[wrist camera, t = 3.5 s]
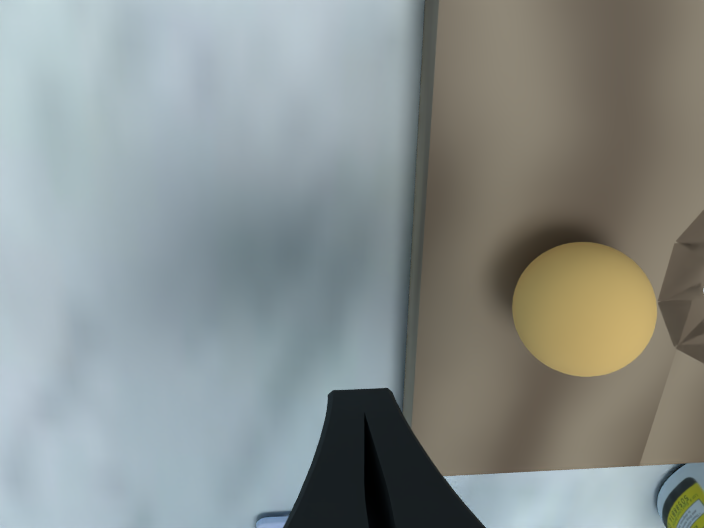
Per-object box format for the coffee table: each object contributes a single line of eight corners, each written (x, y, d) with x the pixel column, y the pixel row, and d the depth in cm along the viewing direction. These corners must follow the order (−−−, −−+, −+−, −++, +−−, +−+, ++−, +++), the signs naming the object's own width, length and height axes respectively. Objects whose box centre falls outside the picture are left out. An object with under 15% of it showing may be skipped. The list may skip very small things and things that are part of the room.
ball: (489, 329, 20) (529, 408, 16) (504, 222, 18) (551, 286, 14) (602, 324, 20) (665, 402, 16) (628, 218, 18) (705, 280, 15)
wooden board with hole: (401, 441, 25) (408, 478, 23) (426, -31, 16) (441, -31, 14) (789, 421, 26) (825, 456, 24) (1000, -31, 17) (1080, -31, 16)
